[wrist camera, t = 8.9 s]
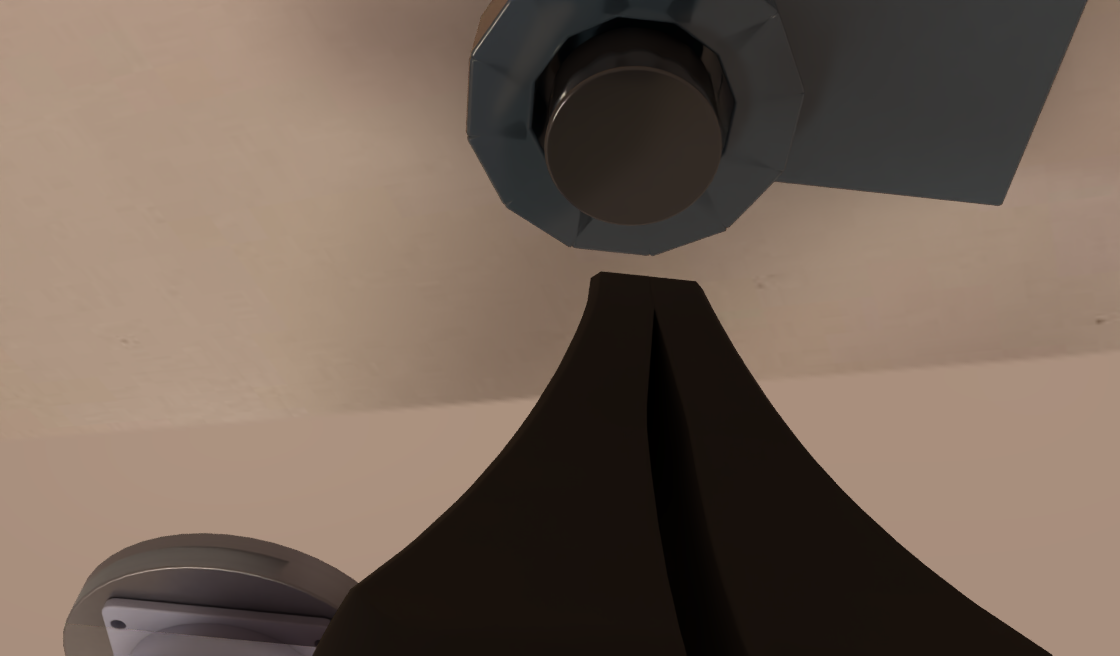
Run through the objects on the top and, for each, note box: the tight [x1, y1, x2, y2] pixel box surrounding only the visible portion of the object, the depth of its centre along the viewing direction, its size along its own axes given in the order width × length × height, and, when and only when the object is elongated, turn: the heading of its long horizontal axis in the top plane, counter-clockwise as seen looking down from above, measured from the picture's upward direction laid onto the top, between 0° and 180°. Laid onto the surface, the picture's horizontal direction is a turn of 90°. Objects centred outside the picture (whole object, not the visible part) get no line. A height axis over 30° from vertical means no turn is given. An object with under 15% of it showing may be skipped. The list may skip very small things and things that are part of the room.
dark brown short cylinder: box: [544, 27, 722, 226], centre depth 18 cm, size 3×3×2 cm
